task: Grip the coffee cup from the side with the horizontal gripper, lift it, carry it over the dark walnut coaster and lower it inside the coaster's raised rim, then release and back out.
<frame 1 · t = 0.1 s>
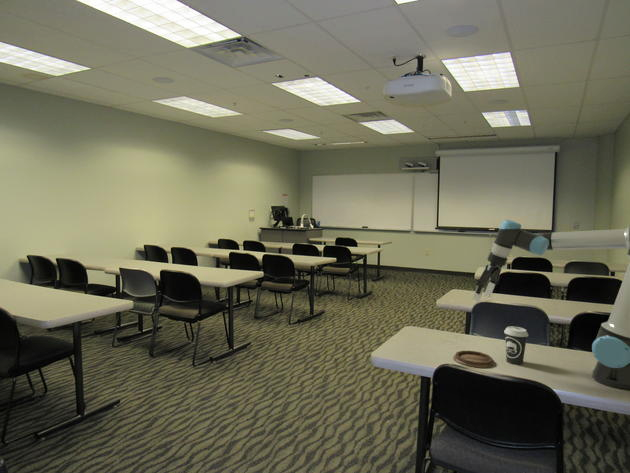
hand: (481, 298, 181), 28 cm above the table, tool tilted 20°, fingers open, 13 cm apart
coaster: (473, 360, 179), on the table
coffee cup: (514, 362, 179), on the table
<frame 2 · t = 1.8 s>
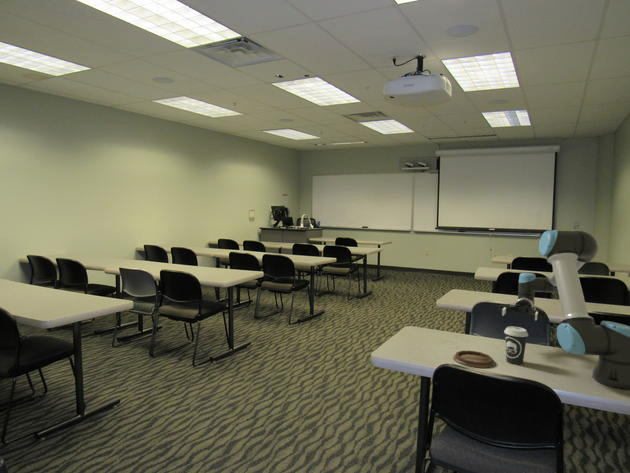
hand: (519, 315, 186), 19 cm above the table, tool horizontal, fingers open, 13 cm apart
nothing on the table moved.
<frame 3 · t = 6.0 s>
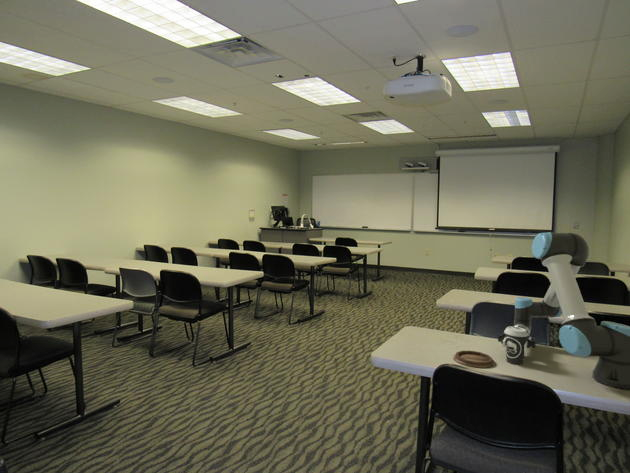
hand: (514, 346, 174), 9 cm above the table, tool horizontal, fingers closed on coffee cup, 8 cm apart
coffee cup: (514, 362, 179), on the table, touching gripper
when the fingers open (10 cm above the table, at t = 10.3 s): coffee cup drops 1 cm, resting on coaster.
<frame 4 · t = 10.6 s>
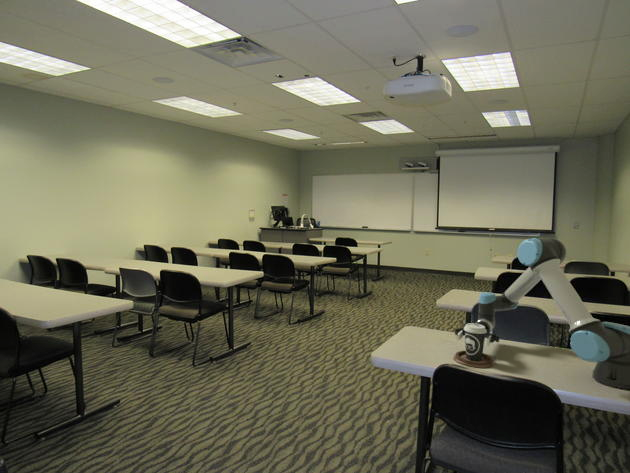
hand: (472, 339, 175), 10 cm above the table, tool horizontal, fingers open, 11 cm apart
coffee cup: (473, 359, 179), point 1 cm above the table, touching coaster
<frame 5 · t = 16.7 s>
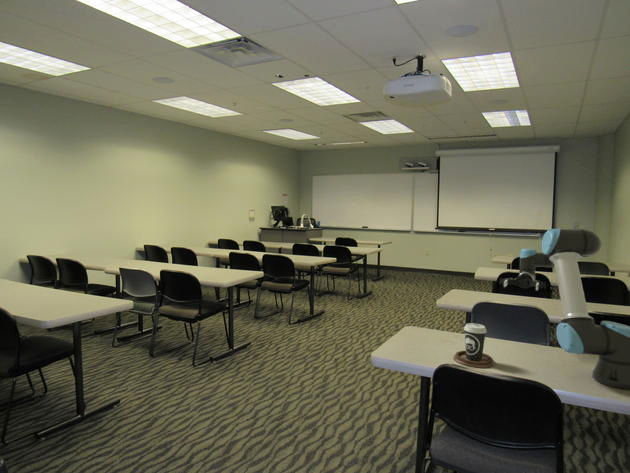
hand: (520, 285, 190), 32 cm above the table, tool horizontal, fingers open, 13 cm apart
nothing on the table moved.
at the end: coffee cup 0.2 cm from the coaster (horizontally); coffee cup point 0.6 cm above the table; coffee cup tilted 0° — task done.
